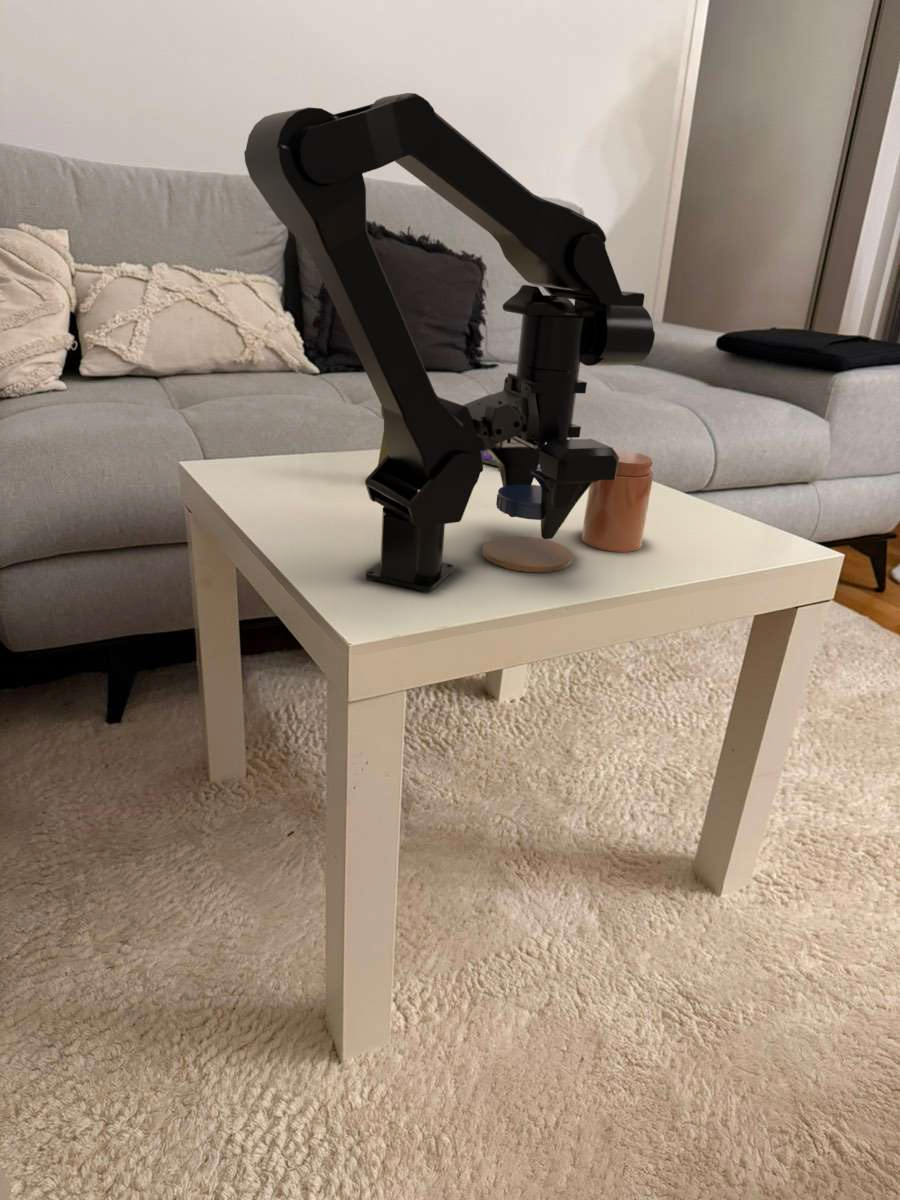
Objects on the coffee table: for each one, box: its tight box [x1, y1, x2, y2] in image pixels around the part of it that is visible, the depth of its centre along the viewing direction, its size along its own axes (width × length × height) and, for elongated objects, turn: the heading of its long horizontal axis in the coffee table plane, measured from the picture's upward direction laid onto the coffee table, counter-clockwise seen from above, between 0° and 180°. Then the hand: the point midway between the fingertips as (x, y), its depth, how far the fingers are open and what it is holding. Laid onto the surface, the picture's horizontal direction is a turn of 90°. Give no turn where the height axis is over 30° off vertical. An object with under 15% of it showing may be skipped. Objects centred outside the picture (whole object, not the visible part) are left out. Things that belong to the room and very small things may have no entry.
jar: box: [581, 449, 654, 553], centre depth 90 cm, size 6×6×9 cm
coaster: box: [482, 535, 573, 574], centre depth 86 cm, size 9×9×1 cm
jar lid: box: [495, 484, 542, 521], centre depth 84 cm, size 7×7×2 cm
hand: (529, 527), depth 85 cm, fingers closed on jar lid, 6 cm apart
